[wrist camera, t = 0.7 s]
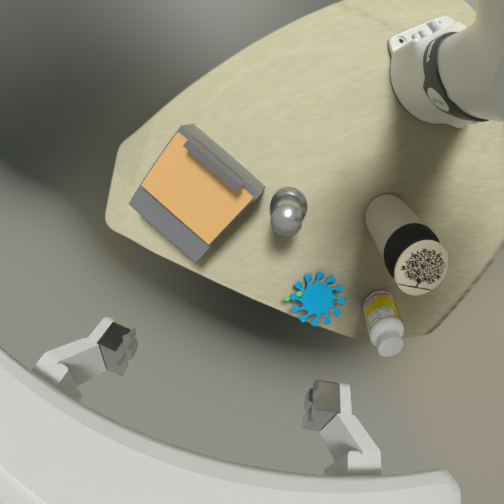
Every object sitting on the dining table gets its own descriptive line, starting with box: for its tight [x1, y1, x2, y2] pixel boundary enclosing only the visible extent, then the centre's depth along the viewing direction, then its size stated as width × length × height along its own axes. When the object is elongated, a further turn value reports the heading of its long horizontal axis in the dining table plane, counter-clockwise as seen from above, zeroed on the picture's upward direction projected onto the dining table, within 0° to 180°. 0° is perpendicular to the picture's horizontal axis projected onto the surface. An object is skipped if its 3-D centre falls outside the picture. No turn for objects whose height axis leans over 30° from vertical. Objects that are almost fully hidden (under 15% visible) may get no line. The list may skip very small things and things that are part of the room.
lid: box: [141, 132, 254, 244], centre depth 41 cm, size 12×15×3 cm
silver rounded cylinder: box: [270, 187, 307, 236], centre depth 43 cm, size 6×6×8 cm
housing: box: [129, 124, 265, 263], centre depth 45 cm, size 17×16×5 cm
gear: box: [284, 271, 345, 327], centre depth 51 cm, size 11×6×10 cm
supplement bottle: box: [363, 291, 404, 357], centre depth 46 cm, size 7×7×13 cm
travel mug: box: [365, 194, 449, 296], centre depth 36 cm, size 8×8×18 cm
